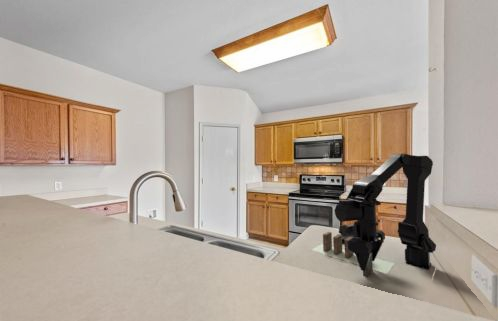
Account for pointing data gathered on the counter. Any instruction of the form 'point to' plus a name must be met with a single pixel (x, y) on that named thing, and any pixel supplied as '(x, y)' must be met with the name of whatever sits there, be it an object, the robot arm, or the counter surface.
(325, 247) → the domino
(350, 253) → the domino
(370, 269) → the tile
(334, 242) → the domino
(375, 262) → the runner mat
